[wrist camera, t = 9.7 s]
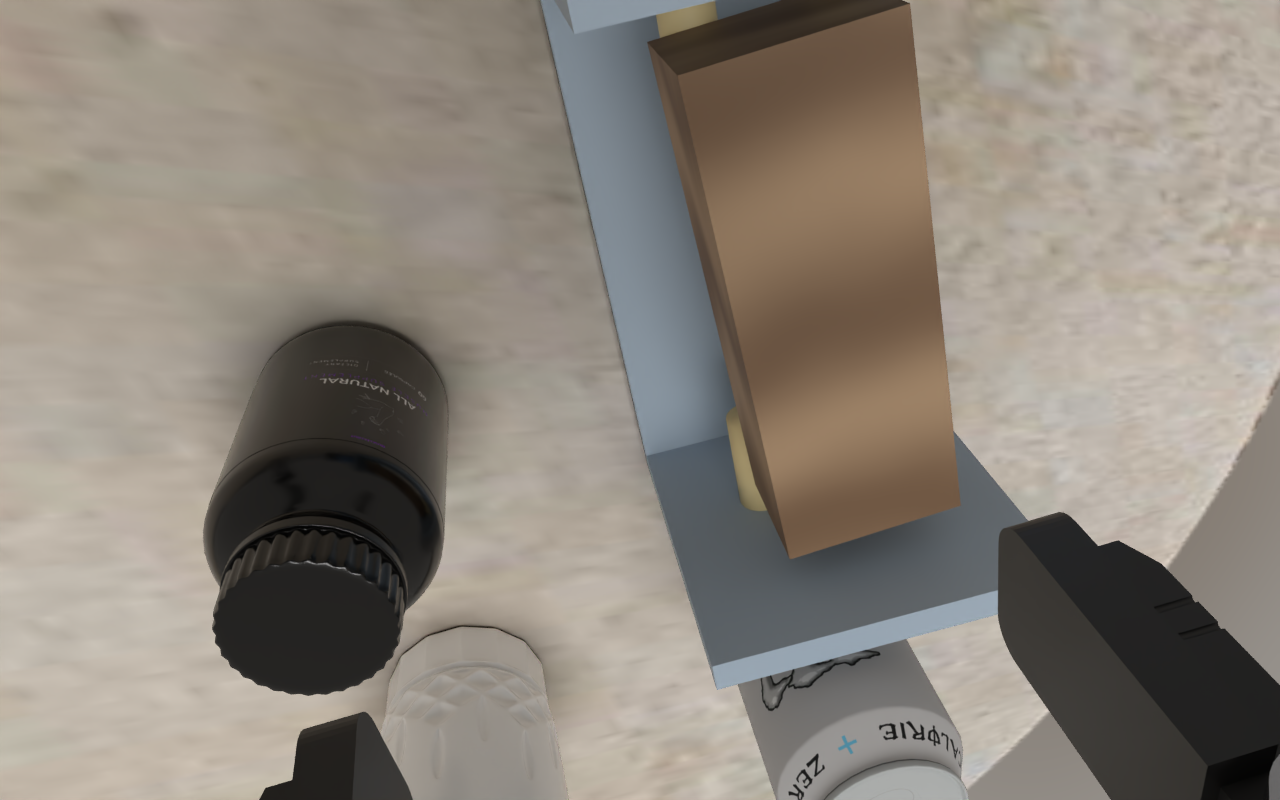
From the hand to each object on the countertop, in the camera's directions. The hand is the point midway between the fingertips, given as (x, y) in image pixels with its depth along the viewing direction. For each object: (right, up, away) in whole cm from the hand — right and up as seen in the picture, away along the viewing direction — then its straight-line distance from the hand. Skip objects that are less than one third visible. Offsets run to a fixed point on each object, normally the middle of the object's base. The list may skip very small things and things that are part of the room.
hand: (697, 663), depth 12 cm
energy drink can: (+4, -2, +30) cm, 30 cm away
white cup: (-8, -9, +32) cm, 34 cm away
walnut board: (+4, +7, +17) cm, 19 cm away
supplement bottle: (-11, +3, +24) cm, 27 cm away
